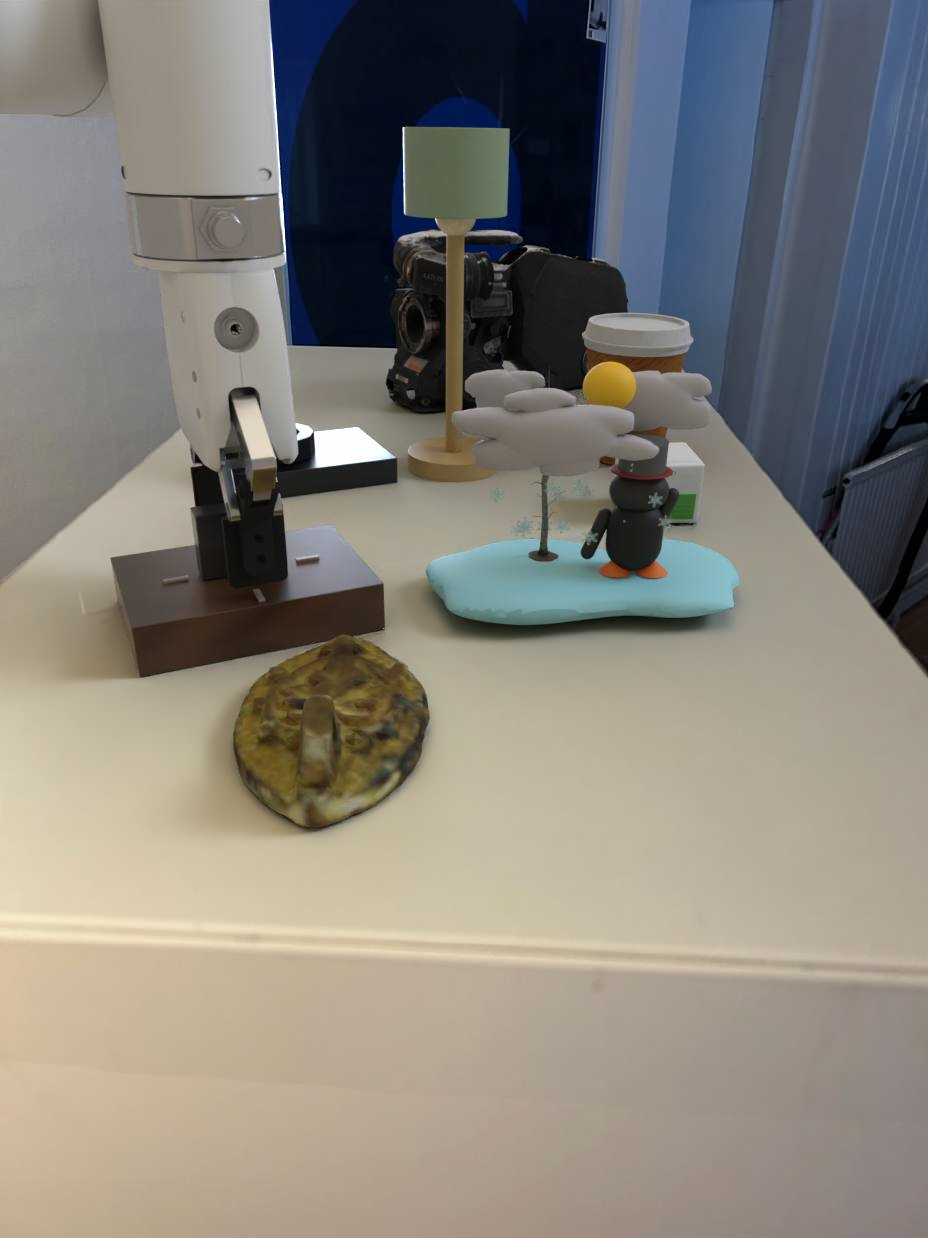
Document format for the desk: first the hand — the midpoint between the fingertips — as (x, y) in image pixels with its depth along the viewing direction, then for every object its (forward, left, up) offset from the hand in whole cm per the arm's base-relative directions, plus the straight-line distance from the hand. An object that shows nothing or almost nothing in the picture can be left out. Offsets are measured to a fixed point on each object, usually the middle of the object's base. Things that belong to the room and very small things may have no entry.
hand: (240, 551), depth 55 cm
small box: (+33, +5, -4) cm, 34 cm away
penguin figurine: (+20, -6, -4) cm, 21 cm away
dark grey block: (0, 0, -1) cm, 1 cm away
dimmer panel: (0, 0, -4) cm, 4 cm away
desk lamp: (+23, +21, -4) cm, 31 cm away
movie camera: (+38, +42, -4) cm, 57 cm away
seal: (+1, -14, -4) cm, 15 cm away
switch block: (+11, +24, -4) cm, 27 cm away
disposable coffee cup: (+39, +18, -4) cm, 43 cm away
